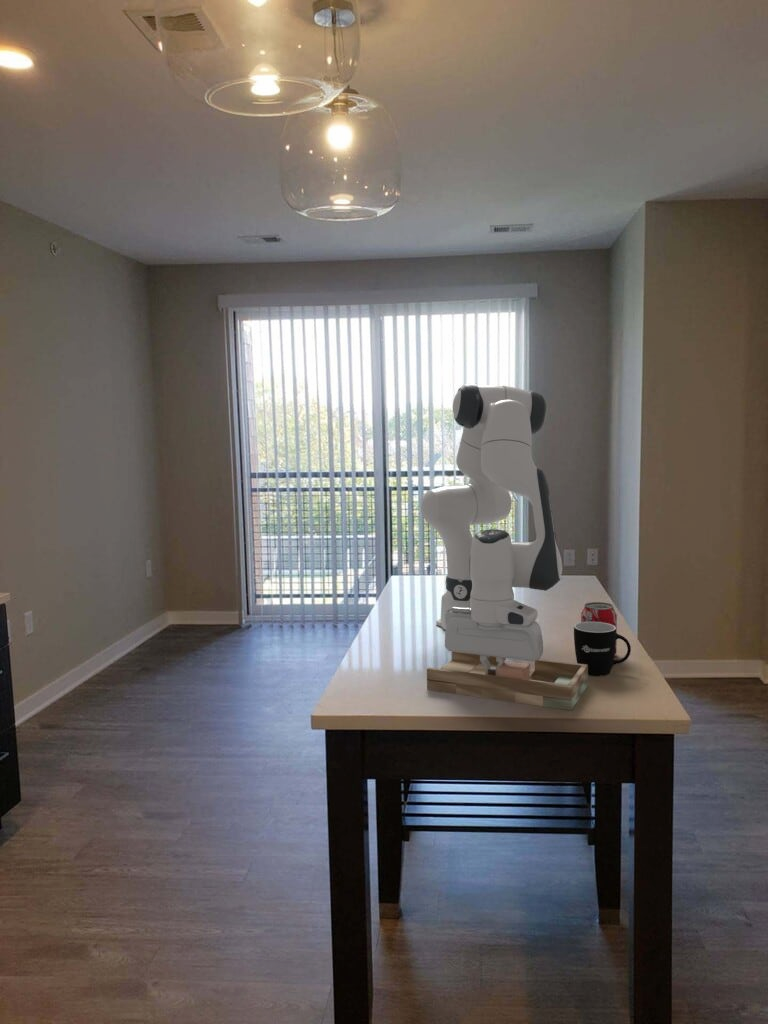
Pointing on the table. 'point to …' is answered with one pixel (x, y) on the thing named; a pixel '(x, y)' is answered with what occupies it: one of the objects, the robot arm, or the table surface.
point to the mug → (597, 646)
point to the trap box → (512, 681)
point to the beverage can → (600, 614)
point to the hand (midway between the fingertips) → (493, 676)
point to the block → (514, 670)
